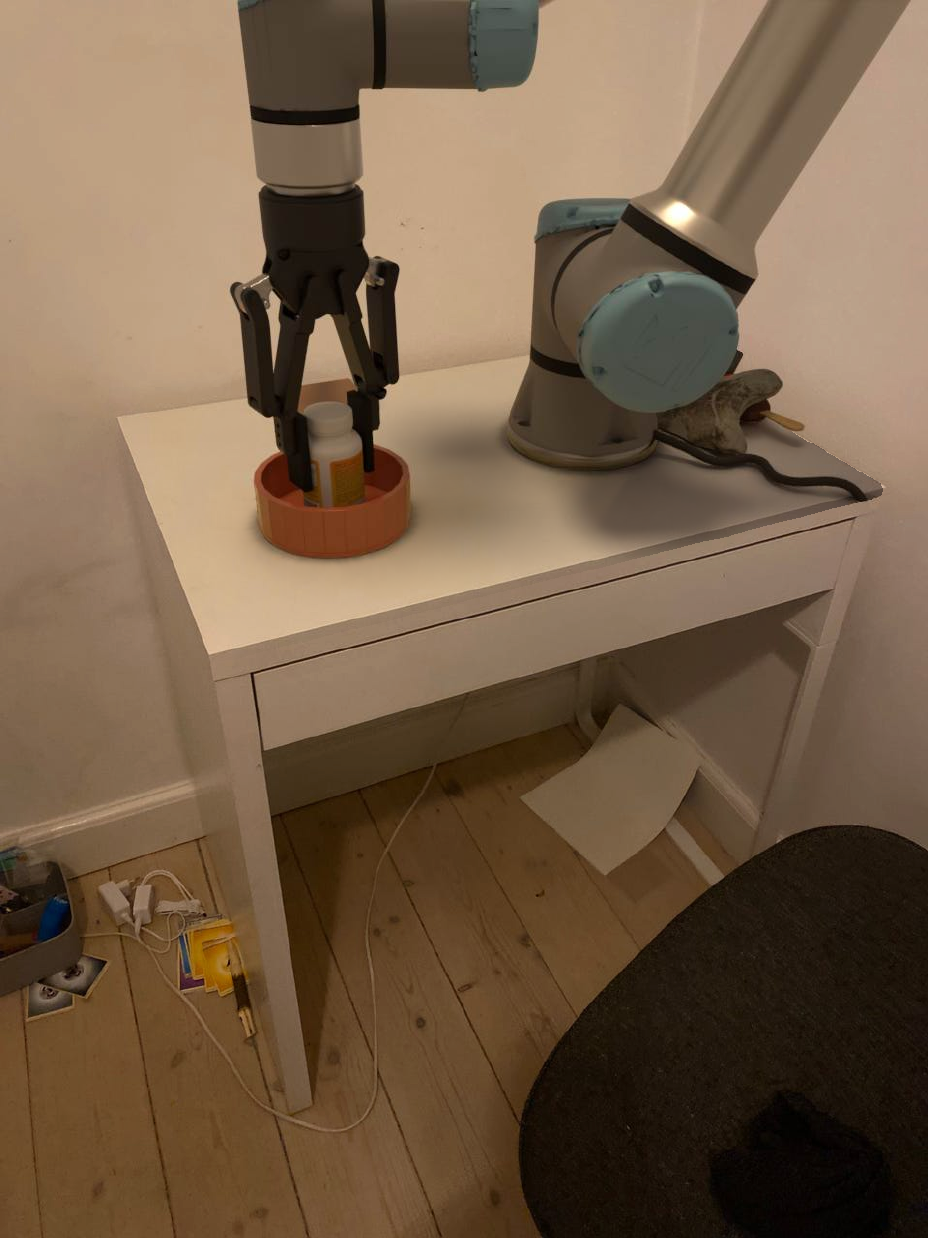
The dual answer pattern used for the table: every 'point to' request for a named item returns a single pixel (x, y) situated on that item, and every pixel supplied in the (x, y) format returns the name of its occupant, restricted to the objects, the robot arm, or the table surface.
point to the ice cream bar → (769, 416)
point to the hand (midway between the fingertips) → (332, 475)
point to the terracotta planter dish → (334, 510)
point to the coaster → (324, 393)
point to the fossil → (721, 411)
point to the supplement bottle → (334, 457)
